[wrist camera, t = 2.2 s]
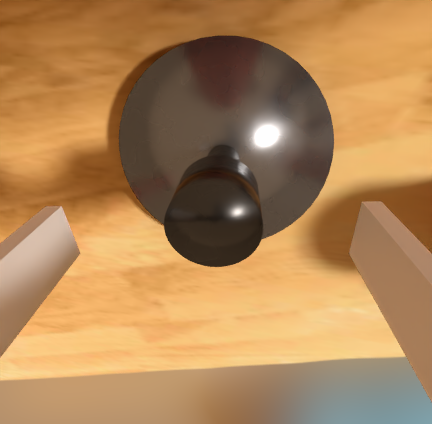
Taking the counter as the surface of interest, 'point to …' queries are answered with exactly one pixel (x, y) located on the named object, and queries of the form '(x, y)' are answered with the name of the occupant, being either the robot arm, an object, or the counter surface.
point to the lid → (225, 145)
